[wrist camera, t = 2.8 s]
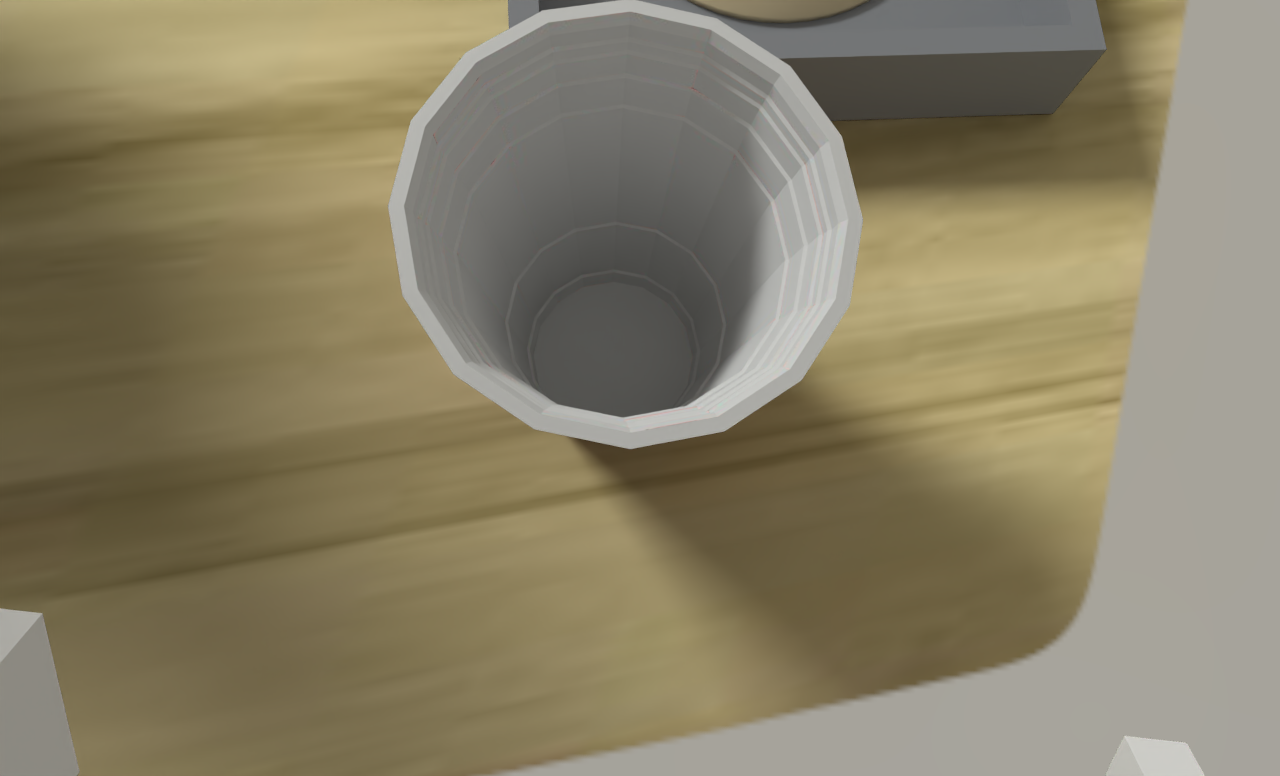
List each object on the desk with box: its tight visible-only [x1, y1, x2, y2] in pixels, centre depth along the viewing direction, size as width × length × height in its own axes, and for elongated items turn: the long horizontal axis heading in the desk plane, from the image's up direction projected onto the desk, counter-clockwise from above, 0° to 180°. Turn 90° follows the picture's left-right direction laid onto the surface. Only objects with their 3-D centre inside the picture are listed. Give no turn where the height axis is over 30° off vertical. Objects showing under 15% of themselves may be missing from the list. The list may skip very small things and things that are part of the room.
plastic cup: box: [388, 0, 863, 449], centre depth 28 cm, size 11×11×12 cm
